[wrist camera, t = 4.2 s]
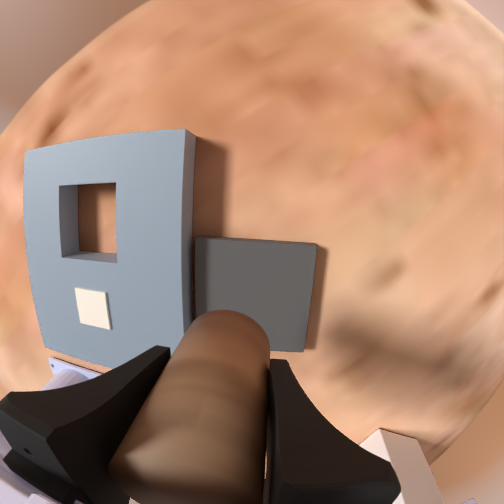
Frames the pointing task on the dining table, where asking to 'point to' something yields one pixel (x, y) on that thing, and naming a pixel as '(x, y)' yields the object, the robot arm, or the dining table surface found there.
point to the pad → (258, 284)
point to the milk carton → (406, 467)
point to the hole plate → (128, 245)
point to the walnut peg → (202, 419)
